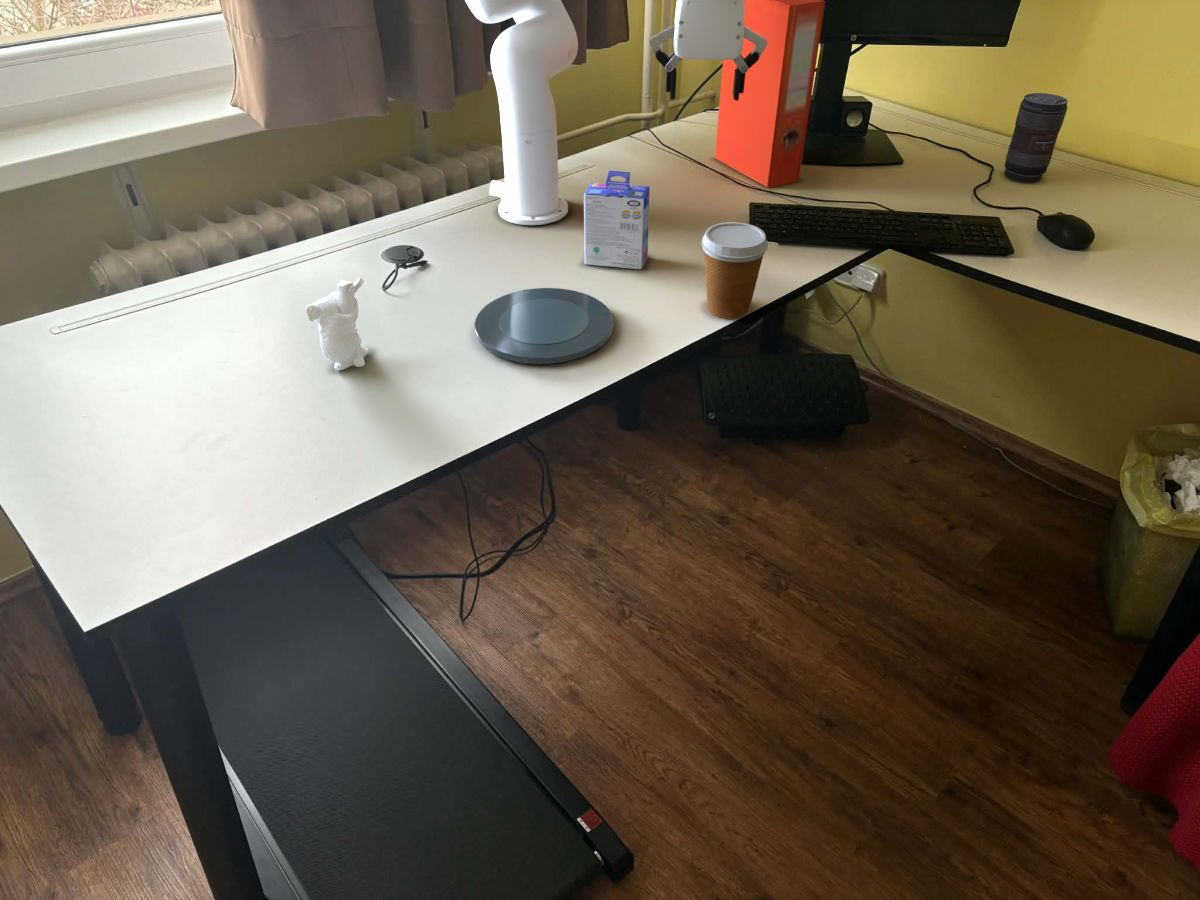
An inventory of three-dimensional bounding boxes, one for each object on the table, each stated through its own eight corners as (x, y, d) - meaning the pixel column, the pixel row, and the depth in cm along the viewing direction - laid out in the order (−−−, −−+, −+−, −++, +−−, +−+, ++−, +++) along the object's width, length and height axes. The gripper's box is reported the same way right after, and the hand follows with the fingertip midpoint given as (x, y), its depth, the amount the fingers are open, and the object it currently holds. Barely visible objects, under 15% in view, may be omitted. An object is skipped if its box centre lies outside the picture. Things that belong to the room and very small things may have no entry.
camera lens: (1048, 174, 176) (1073, 95, 167) (1039, 188, 171) (1065, 107, 162) (1006, 166, 180) (1028, 88, 171) (996, 179, 174) (1018, 100, 165)
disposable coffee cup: (719, 330, 130) (726, 254, 123) (684, 302, 137) (689, 228, 130) (773, 315, 134) (782, 240, 126) (736, 288, 140) (744, 215, 133)
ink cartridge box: (648, 255, 149) (651, 170, 140) (643, 271, 145) (646, 184, 136) (590, 250, 151) (590, 166, 142) (583, 265, 147) (582, 179, 138)
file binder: (746, 152, 186) (763, -19, 166) (800, 180, 175) (825, 0, 155) (714, 159, 183) (728, -14, 163) (767, 188, 171) (788, 5, 152)
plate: (448, 346, 127) (447, 337, 126) (519, 285, 141) (519, 276, 140) (573, 381, 120) (573, 371, 119) (635, 313, 134) (635, 304, 133)
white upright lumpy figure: (370, 343, 128) (355, 266, 121) (387, 365, 124) (373, 287, 116) (311, 360, 125) (293, 282, 117) (327, 383, 120) (308, 304, 113)
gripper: (772, -33, 129) (758, 90, 140) (651, -34, 130) (647, 88, 140) (777, -21, 123) (763, 106, 134) (651, -23, 124) (647, 104, 134)
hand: (703, 97), depth 137 cm, fingers open, 9 cm apart
